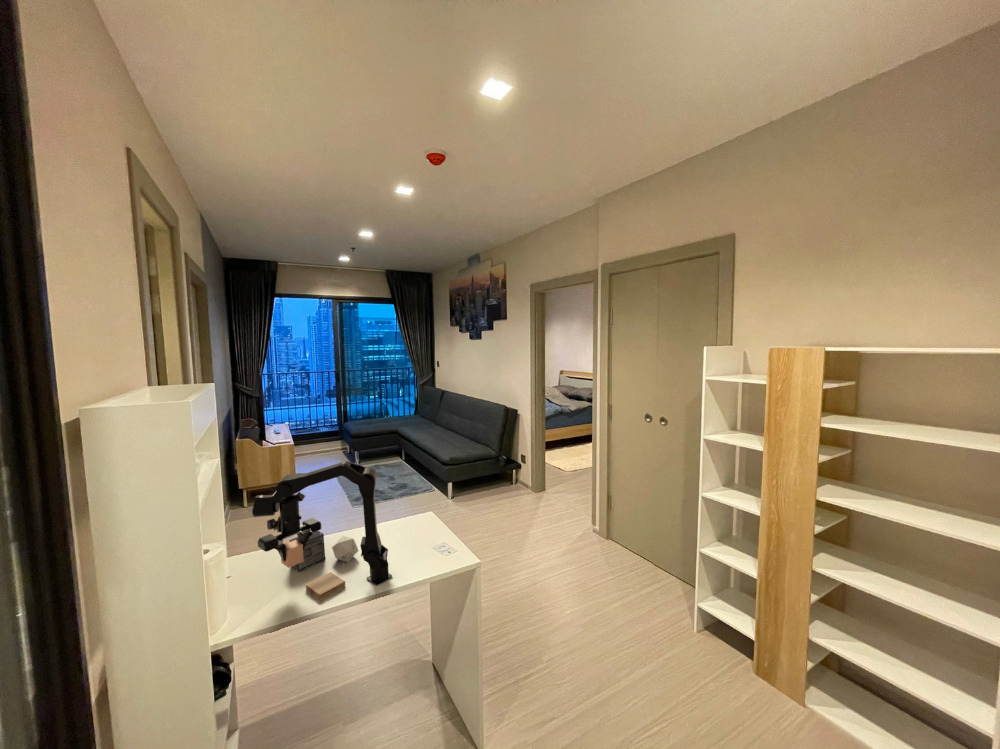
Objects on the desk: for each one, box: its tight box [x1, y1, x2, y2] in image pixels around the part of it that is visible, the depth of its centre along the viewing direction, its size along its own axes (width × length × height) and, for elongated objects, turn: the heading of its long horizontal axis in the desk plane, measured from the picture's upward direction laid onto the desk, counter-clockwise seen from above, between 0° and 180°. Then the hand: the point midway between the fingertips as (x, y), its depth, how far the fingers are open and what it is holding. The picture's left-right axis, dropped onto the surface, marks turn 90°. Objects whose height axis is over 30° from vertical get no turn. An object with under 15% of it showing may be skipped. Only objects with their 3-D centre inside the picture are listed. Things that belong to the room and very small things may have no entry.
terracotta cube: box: [280, 540, 304, 569], centre depth 136 cm, size 5×5×6 cm
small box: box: [288, 530, 327, 573], centre depth 152 cm, size 11×6×10 cm, turn 141°
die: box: [331, 535, 359, 563], centre depth 155 cm, size 8×9×10 cm
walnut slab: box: [305, 571, 346, 601], centre depth 137 cm, size 9×9×2 cm
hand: (292, 557), depth 136 cm, fingers closed on terracotta cube, 5 cm apart
